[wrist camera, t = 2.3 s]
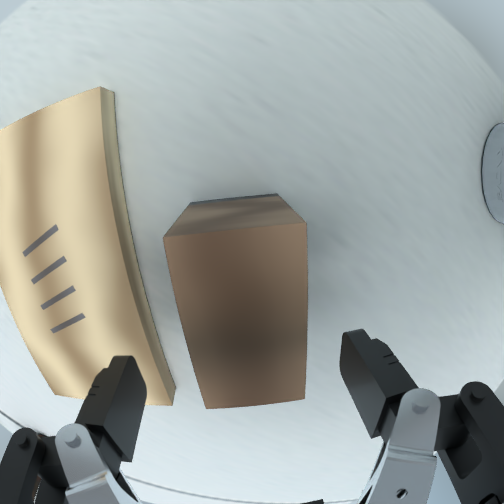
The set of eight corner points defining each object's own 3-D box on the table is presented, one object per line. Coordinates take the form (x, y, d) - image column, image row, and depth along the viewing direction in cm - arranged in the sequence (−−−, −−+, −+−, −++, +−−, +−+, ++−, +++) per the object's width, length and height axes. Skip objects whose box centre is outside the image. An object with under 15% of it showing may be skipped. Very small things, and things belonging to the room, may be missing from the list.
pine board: (113, 92, 13) (100, 86, 11) (175, 387, 21) (172, 405, 19) (-11, 144, 13) (-28, 146, 11) (62, 380, 21) (54, 394, 19)
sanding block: (276, 193, 16) (306, 222, 10) (283, 324, 19) (304, 398, 13) (190, 202, 16) (162, 237, 10) (212, 331, 19) (205, 408, 13)
